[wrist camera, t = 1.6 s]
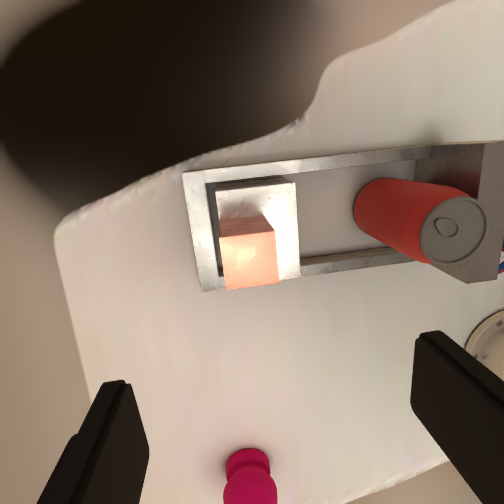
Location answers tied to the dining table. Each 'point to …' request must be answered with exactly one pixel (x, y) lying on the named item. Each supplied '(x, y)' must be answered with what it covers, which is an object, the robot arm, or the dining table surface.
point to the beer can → (422, 220)
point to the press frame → (426, 169)
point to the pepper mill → (249, 479)
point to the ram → (258, 232)
